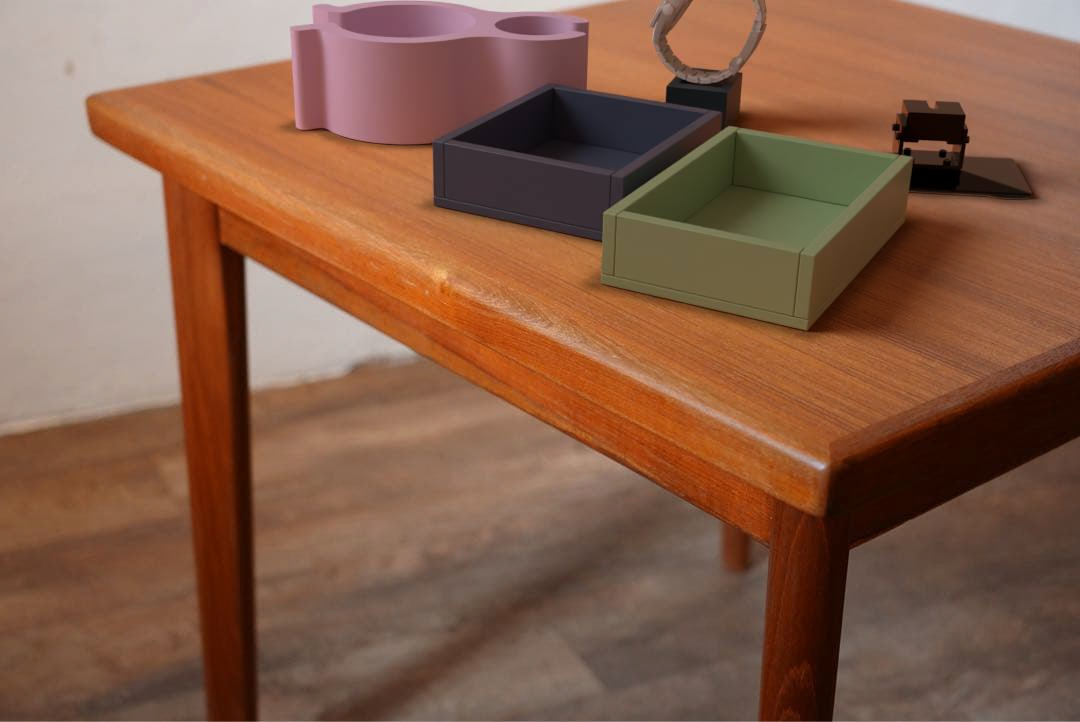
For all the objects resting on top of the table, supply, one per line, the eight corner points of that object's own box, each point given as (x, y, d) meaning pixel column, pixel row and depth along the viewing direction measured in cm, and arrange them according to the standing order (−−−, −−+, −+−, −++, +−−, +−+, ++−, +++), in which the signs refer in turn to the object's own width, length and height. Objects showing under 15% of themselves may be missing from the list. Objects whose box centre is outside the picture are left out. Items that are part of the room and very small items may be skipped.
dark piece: (1011, 164, 97) (1024, 96, 95) (1032, 202, 90) (1046, 130, 88) (824, 152, 98) (832, 85, 96) (831, 189, 91) (840, 118, 89)
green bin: (904, 222, 86) (913, 156, 84) (807, 331, 72) (815, 255, 70) (723, 188, 91) (728, 125, 89) (600, 283, 77) (602, 212, 75)
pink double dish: (589, 100, 108) (592, 7, 105) (578, 152, 97) (581, 50, 94) (326, 88, 109) (321, -4, 106) (285, 139, 98) (279, 38, 95)
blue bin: (718, 173, 94) (722, 111, 92) (620, 245, 82) (623, 177, 80) (547, 141, 99) (548, 82, 97) (433, 205, 87) (432, 140, 86)
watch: (655, 105, 107) (663, -46, 102) (763, 117, 105) (776, -37, 100) (636, 126, 102) (644, -31, 97) (749, 139, 100) (762, -21, 95)
